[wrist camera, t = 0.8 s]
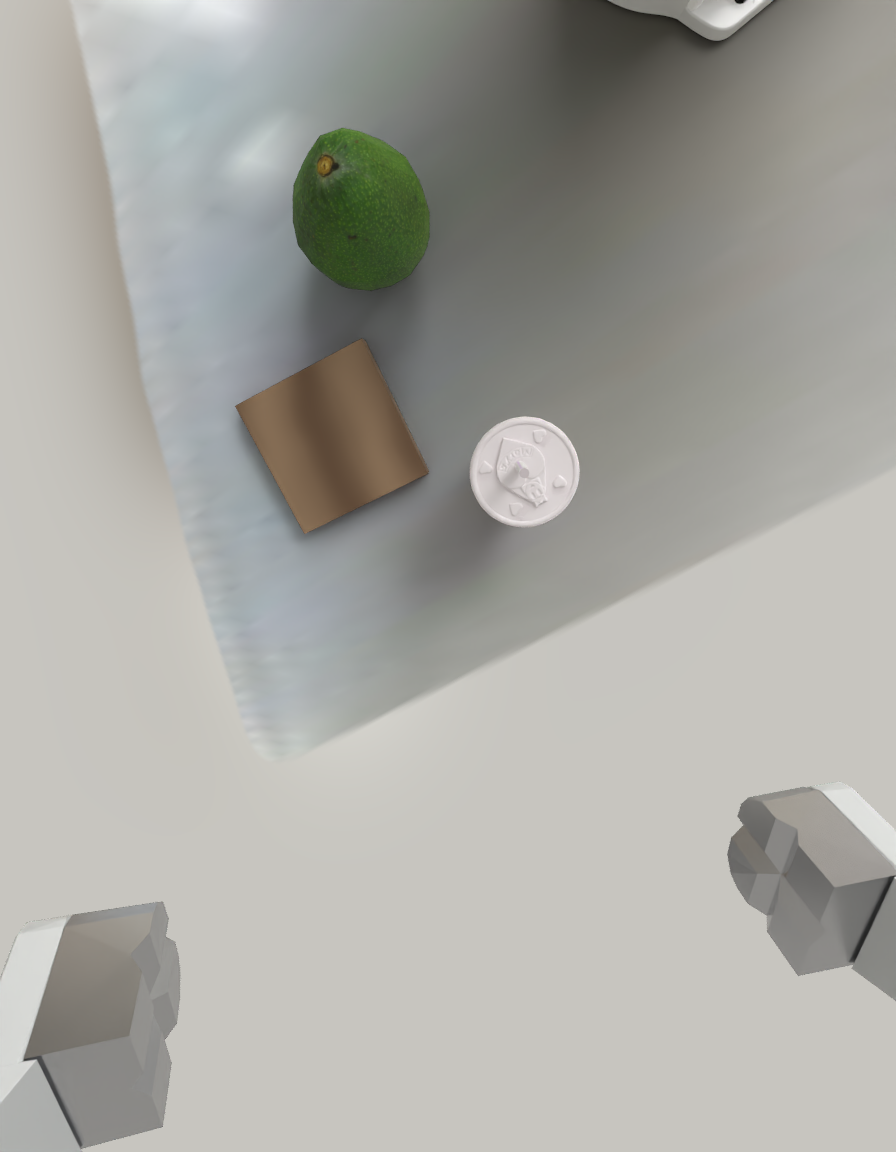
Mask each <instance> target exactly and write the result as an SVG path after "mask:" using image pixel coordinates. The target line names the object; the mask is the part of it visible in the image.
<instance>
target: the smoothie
mask: <svg viewBox="0 0 896 1152" xmlns="http://www.w3.org/2000/svg"><path fill="white" fill-rule="evenodd" d="M579 473H580V469H579V461H578V457H577V453H576V451H575V448H574V446H573V445H572V443H571V441H570V440H569V439H568V437H567V436H566V435H565V434H564V432H563V431H561V430H560V429H559V428H557V427H556V426H555V425H553V424H552V423H550V422H547V421H545V420H542V419H540V418H534V417H525V416H523V417H517V418H511V419H508V420H506V421H503V422H501V423H499V424H497V425H495V426H494V427H493V428H492V429H490V430H489V431H488V432H487V433H486V434H484V436H483V437H482V439H481V440H480V441H479V443H478V444H477V446H476V448H475V450H474V453H473V455H472V458H471V463H470V473H469V475H470V481H471V488H472V490H473V492H474V495H475V497H476V499H477V501H478V503H479V504H480V506H481V507H482V508H483V509H484V510H485V511H486V512H487V513H488V514H489V515H490V516H491V517H493V518H494V519H496V520H497V521H499V522H501V523H504V524H506V525H510V526H514V527H533V526H538V525H541V524H544V523H546V522H548V521H550V520H552V519H554V518H555V517H557V516H558V515H559V514H560V513H561V512H562V511H563V510H564V509H565V508H566V507H567V506H568V505H569V503H570V502H571V500H572V498H573V497H574V494H575V492H576V489H577V486H578V482H579Z"/></svg>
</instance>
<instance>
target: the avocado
mask: <svg viewBox="0 0 896 1152" xmlns="http://www.w3.org/2000/svg"><path fill="white" fill-rule="evenodd" d="M293 224H294V228H295V233H296V238H297V242H298V246H299V247H300V248H301V250H302V251H303V252H304V254H305V255H306V256H307V258H308V259H309V260H310V262H311V263H312V264H313V265H314V266H315V267H316V268H317V269H318V270H320V271H321V272H322V273H324V274H325V275H326V276H327V277H329V278H330V279H331V280H333V281H334V282H335V283H337V284H339V285H341V286H343V287H346V288H351V289H360V290H370V291H371V290H375V289H380V288H384V287H388V286H392V285H394V284H395V283H397V282H399V281H400V280H402V279H404V278H406V277H407V276H409V275H410V274H411V273H412V271H413V270H414V268H415V267H416V266H417V264H418V263H419V261H420V260H421V258H422V257H423V255H424V253H425V250H426V248H427V244H428V241H429V209H428V206H427V203H426V199H425V196H424V193H423V189H422V187H421V184H420V182H419V179H418V178H417V176H416V174H415V172H414V171H413V169H412V167H411V166H410V164H409V162H408V160H407V159H406V157H405V156H403V155H402V154H401V153H399V152H398V151H396V150H395V149H394V148H392V147H391V146H389V145H388V144H387V143H385V142H383V141H381V140H379V139H377V138H374V137H372V136H369V135H367V134H365V133H363V132H360V131H355V130H350V129H345V128H341V129H338V130H335V131H332V132H329V133H327V134H324V135H321V136H320V137H319V138H318V139H317V141H316V142H315V144H314V145H313V147H312V148H311V150H310V151H309V153H308V155H307V156H306V158H305V160H304V162H303V164H302V166H301V169H300V171H299V173H298V176H297V178H296V181H295V183H294V190H293Z"/></svg>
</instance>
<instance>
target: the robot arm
mask: <svg viewBox="0 0 896 1152" xmlns="http://www.w3.org/2000/svg"><path fill="white" fill-rule="evenodd" d="M608 1H610V2H612V3H614V4H616V5H618V6H621V7H623V8H626V9H629V10H633V11H637V12H642V13H649V14H657V15H664V16H669V17H672V18H675V19H678V20H679V21H681V22H682V23H683V24H685V25H686V26H687V27H689V28H690V29H692V30H693V31H695V32H696V33H698V34H700V35H701V36H703V37H705V38H707V39H710V40H715V41H720V40H724V39H726V38H728V37H729V36H731V35H732V34H733V33H735V32H736V31H737V30H738V29H739V28H741V27H742V26H743V25H744V24H745V23H747V22H748V21H749V20H750V19H752V18H753V17H754V16H755V15H756V14H758V13H759V12H760V11H761V10H762V9H764V8H765V7H766V6H767V5H768V4H770V3H771V2H772V1H773V0H744V3H743V4H737V3H736V2H735V1H734V0H608ZM738 818H739V819H740V821H741V822H742V824H743V826H742V827H741V828H740V829H739V830H738V831H737V832H736V834H735V835H734V836H733V837H732V838H731V841H730V845H729V850H728V854H727V855H728V861H729V866H730V872H731V875H732V877H733V879H734V882H735V884H736V886H737V888H738V890H739V891H740V893H741V894H742V896H743V897H744V899H745V900H746V902H747V903H748V904H749V905H751V906H752V907H754V908H756V909H757V910H759V911H761V912H762V913H764V914H765V915H767V932H768V933H769V935H770V936H771V938H772V939H773V941H774V942H775V943H776V945H777V946H778V948H779V949H780V951H781V952H782V954H783V955H784V956H785V958H786V959H787V961H788V962H789V964H790V965H791V966H792V968H793V969H794V971H795V972H796V974H797V975H798V976H800V975H805V974H809V973H814V972H819V971H824V970H829V969H834V968H839V967H844V966H849V965H853V967H852V969H853V970H855V971H856V972H858V973H859V974H860V975H861V976H863V977H864V978H866V979H867V980H868V981H870V982H871V983H872V984H874V985H875V986H877V987H878V988H879V989H881V990H882V991H883V992H885V993H886V994H887V995H889V996H890V997H891V998H893V999H894V1000H895V1001H896V830H895V829H893V827H892V826H891V825H890V824H888V823H887V821H885V820H884V819H883V818H882V817H881V816H880V815H879V814H878V813H877V812H876V811H875V810H874V809H873V808H872V807H871V806H870V805H869V804H868V803H867V802H866V801H865V800H864V799H863V798H862V797H861V796H860V795H859V794H858V793H856V791H855V790H854V789H852V788H851V787H850V786H848V785H846V784H844V783H842V782H833V783H827V784H822V785H816V786H811V787H807V788H806V787H800V788H795V789H790V790H785V791H780V792H774V793H769V794H764V795H759V796H753V797H749V798H747V799H746V800H745V801H744V802H743V803H742V804H741V807H740V811H739V814H738ZM167 925H168V916H167V913H166V910H165V907H164V904H163V902H156V903H149V904H142V905H135V906H129V907H122V908H115V909H108V910H102V911H95V912H88V913H81V914H75V915H69V916H63V917H57V918H51V919H44V920H39V921H32V922H27V923H26V924H25V925H24V927H23V928H22V930H21V931H20V932H19V934H18V935H17V936H16V938H15V940H14V943H13V945H12V948H11V951H10V953H9V956H8V958H7V961H6V964H5V966H4V969H3V972H2V974H1V977H0V1152H82V1151H81V1149H82V1148H86V1147H89V1146H93V1145H97V1144H101V1143H105V1142H108V1141H112V1140H116V1139H119V1138H123V1137H127V1136H131V1135H135V1134H138V1133H142V1132H145V1131H149V1130H153V1129H157V1128H161V1127H163V1120H164V1114H165V1106H166V1100H167V1092H168V1085H169V1078H170V1070H171V1060H170V1056H169V1053H168V1050H167V1047H166V1044H165V1039H166V1038H167V1036H168V1035H169V1033H170V1032H171V1030H172V1029H173V1028H174V1026H175V1025H176V1024H177V1018H178V1010H179V1001H180V965H179V956H178V952H177V948H176V944H175V942H174V941H173V940H171V939H169V938H167V937H166V932H167Z"/></svg>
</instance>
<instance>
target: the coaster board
mask: <svg viewBox="0 0 896 1152" xmlns="http://www.w3.org/2000/svg"><path fill="white" fill-rule="evenodd" d="M235 407H236V409H237V411H238V412H239V414H240V416H241V418H242V420H243V422H244V423H245V425H246V427H247V429H248V431H249V433H250V435H251V436H252V438H253V440H254V442H255V444H256V446H257V447H258V449H259V451H260V453H261V455H262V457H263V458H264V460H265V462H266V464H267V466H268V468H269V470H270V471H271V473H272V475H273V477H274V479H275V481H276V482H277V484H278V486H279V488H280V490H281V492H282V493H283V495H284V497H285V499H286V501H287V503H288V505H289V506H290V508H291V510H292V512H293V514H294V516H295V517H296V519H297V521H298V523H299V525H300V527H301V528H302V530H303V532H304V534H306V533H308V532H310V531H312V530H314V529H316V528H318V527H320V526H322V525H324V524H326V523H328V522H330V521H332V520H334V519H336V518H338V517H340V516H342V515H344V514H346V513H348V512H351V511H353V510H355V509H357V508H359V507H361V506H363V505H365V504H367V503H369V502H371V501H373V500H375V499H377V498H379V497H381V496H383V495H385V494H387V493H389V492H391V491H393V490H395V489H397V488H400V487H402V486H404V485H406V484H408V483H410V482H412V481H414V480H416V479H418V478H420V477H422V476H424V475H426V474H428V473H429V470H428V468H427V466H426V464H425V462H424V460H423V457H422V455H421V453H420V451H419V449H418V447H417V445H416V443H415V441H414V439H413V437H412V435H411V433H410V431H409V429H408V427H407V425H406V423H405V421H404V419H403V417H402V415H401V413H400V410H399V408H398V406H397V404H396V402H395V400H394V398H393V396H392V394H391V392H390V390H389V388H388V386H387V384H386V382H385V380H384V378H383V376H382V374H381V372H380V370H379V368H378V366H377V363H376V361H375V359H374V357H373V355H372V353H371V351H370V349H369V347H368V345H367V343H366V341H365V340H363V339H362V338H361V339H359V340H358V341H356V342H354V343H352V344H350V345H348V346H346V347H345V348H343V349H341V350H339V351H337V352H335V353H333V354H331V355H330V356H328V357H326V358H324V359H322V360H320V361H318V362H316V363H315V364H313V365H311V366H309V367H307V368H305V369H303V370H301V371H300V372H298V373H296V374H294V375H292V376H290V377H288V378H286V379H285V380H283V381H281V382H279V383H277V384H275V385H273V386H272V387H270V388H268V389H266V390H264V391H262V392H260V393H258V394H257V395H255V396H253V397H251V398H249V399H247V400H245V401H243V402H242V403H240V404H238V405H236V406H235Z"/></svg>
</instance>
